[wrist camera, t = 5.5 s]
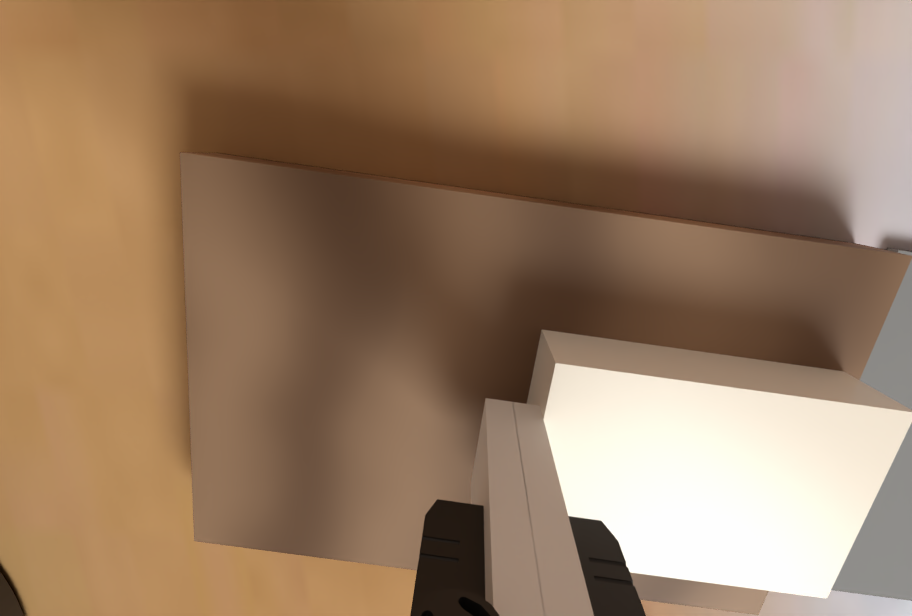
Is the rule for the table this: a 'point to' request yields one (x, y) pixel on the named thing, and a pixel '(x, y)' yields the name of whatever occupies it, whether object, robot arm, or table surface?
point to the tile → (715, 458)
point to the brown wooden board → (450, 337)
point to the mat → (908, 480)
